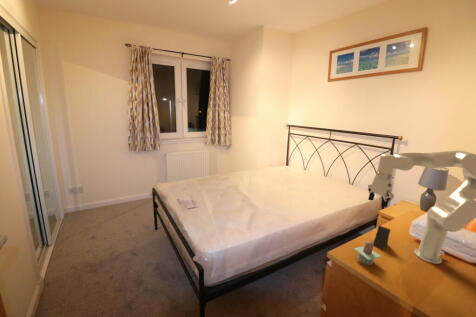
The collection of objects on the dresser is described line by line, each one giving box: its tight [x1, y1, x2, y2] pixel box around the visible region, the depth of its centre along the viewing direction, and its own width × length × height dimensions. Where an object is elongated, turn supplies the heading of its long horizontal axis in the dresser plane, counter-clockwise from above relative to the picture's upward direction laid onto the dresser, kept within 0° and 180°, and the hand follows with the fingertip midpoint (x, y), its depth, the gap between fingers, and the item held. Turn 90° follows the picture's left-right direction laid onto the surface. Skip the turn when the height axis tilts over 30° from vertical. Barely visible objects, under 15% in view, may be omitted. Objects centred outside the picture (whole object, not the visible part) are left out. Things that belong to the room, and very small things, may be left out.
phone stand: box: [373, 225, 391, 250], centre depth 140 cm, size 9×6×12 cm, turn 134°
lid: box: [353, 240, 382, 260], centre depth 123 cm, size 10×10×7 cm
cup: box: [357, 253, 375, 266], centre depth 124 cm, size 7×7×4 cm
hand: (377, 203), depth 133 cm, fingers open, 9 cm apart
